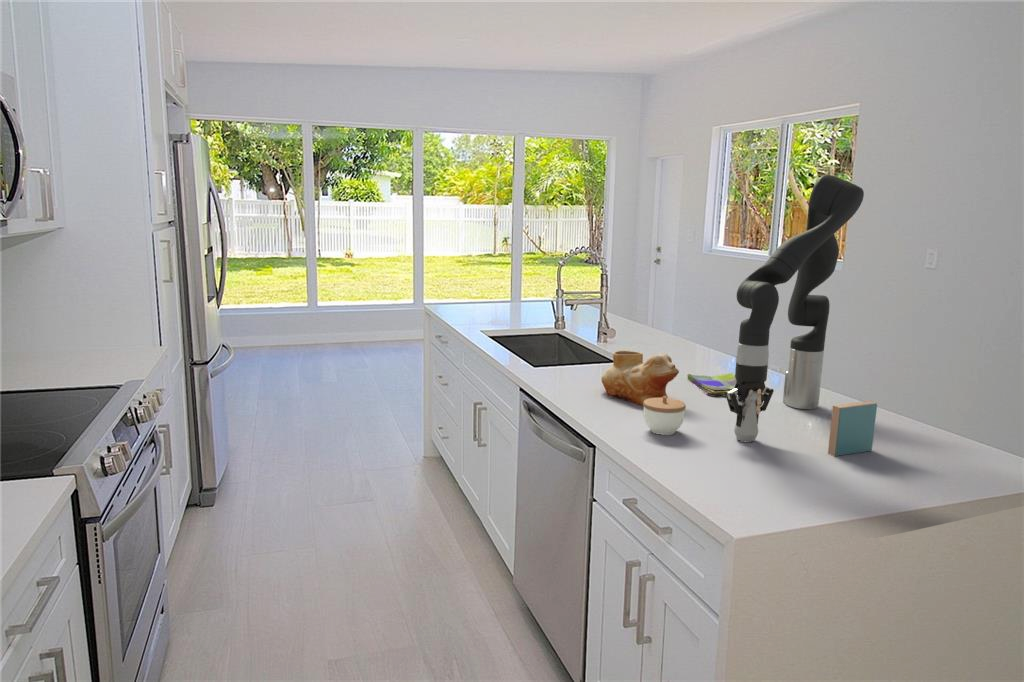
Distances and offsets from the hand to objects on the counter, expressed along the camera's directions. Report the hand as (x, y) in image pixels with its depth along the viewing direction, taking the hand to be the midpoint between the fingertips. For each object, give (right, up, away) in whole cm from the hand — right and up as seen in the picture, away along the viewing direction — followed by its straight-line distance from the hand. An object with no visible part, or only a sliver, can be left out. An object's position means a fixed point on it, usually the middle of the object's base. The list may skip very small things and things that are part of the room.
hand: (746, 427), depth 179 cm
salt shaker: (0, -3, +1) cm, 3 cm away
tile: (+23, -5, -7) cm, 24 cm away
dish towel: (+10, +6, +54) cm, 55 cm away
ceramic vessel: (-21, +4, +39) cm, 44 cm away
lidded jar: (-20, -2, +6) cm, 21 cm away
